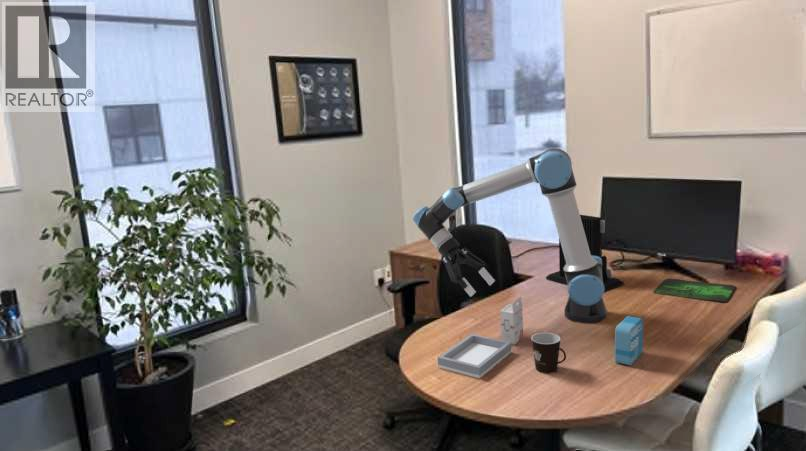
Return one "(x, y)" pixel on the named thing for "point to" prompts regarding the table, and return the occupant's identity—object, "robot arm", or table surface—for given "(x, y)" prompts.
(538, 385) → the table surface
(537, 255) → the table surface
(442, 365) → the docking bay
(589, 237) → the ribbed black tower
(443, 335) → the table surface
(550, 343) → the coffee mug
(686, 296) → the mouse mat
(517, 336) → the ink cartridge box
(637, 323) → the data package
